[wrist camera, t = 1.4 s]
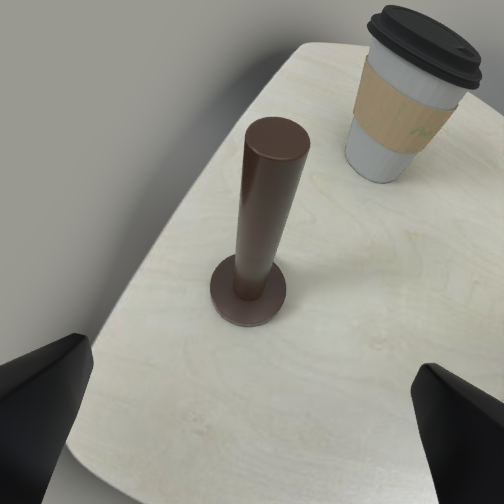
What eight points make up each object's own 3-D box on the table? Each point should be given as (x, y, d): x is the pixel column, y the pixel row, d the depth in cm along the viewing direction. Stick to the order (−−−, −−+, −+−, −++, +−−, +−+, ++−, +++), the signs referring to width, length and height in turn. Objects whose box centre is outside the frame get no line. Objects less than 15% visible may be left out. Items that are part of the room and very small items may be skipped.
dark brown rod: (288, 323, 21) (379, 201, 8) (213, 330, 20) (195, 208, 8) (278, 255, 23) (332, 93, 11) (208, 260, 22) (195, 92, 10)
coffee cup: (402, 216, 26) (496, 86, 12) (310, 164, 27) (359, 10, 14) (420, 157, 30) (485, 48, 16) (344, 114, 31) (386, -5, 18)
